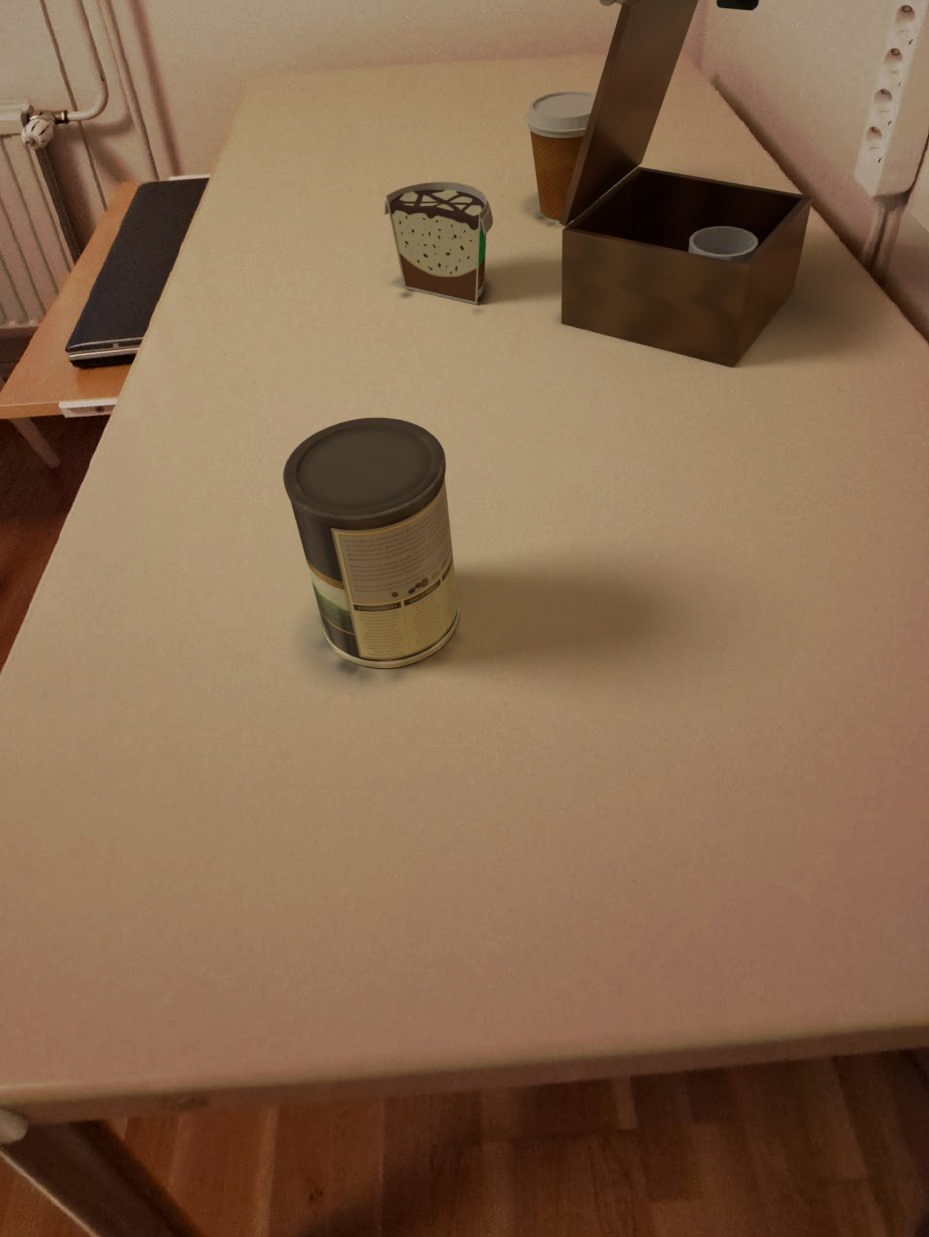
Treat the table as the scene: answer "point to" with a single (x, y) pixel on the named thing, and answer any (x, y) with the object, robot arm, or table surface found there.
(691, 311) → the storage chest
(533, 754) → the table surface
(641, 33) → the chest lid
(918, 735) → the table surface
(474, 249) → the food container
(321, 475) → the coffee can
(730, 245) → the white cup
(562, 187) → the disposable coffee cup
